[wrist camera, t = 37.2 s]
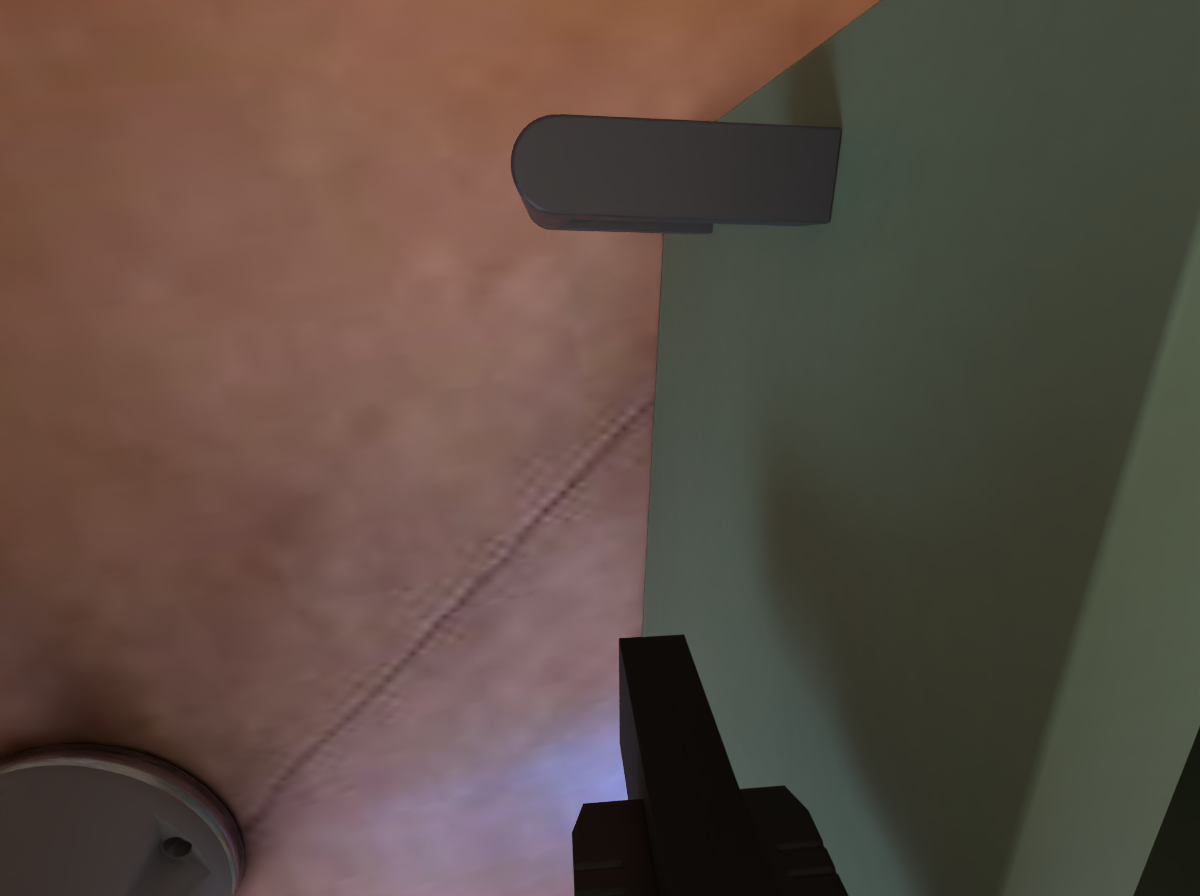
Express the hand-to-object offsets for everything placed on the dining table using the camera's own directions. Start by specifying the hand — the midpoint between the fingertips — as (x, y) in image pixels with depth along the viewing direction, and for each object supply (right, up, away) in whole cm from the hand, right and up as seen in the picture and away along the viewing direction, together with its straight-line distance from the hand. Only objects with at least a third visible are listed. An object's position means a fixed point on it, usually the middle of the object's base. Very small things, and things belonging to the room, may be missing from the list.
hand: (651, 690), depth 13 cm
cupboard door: (-1, +4, +17) cm, 18 cm away
